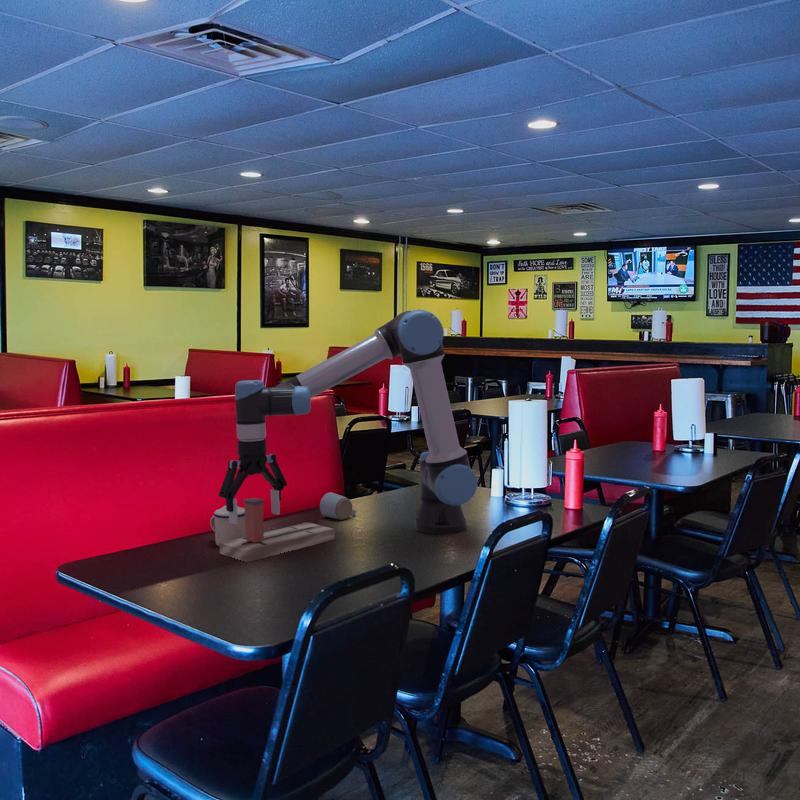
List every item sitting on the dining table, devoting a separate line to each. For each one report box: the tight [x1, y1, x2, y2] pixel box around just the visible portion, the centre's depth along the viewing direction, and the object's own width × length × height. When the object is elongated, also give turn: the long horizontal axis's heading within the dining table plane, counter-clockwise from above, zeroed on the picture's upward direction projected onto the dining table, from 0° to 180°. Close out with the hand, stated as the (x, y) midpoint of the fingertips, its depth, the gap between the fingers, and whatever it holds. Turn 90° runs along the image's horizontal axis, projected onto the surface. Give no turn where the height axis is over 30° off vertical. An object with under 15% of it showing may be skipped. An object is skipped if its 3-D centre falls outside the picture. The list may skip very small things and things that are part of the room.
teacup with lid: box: [209, 505, 245, 547], centre depth 228 cm, size 12×9×12 cm
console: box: [219, 521, 336, 563], centre depth 224 cm, size 12×30×3 cm, turn 136°
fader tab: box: [242, 497, 265, 542], centre depth 217 cm, size 4×3×11 cm
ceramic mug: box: [319, 491, 357, 521], centre depth 257 cm, size 11×8×8 cm
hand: (255, 518), depth 217 cm, fingers open, 13 cm apart
